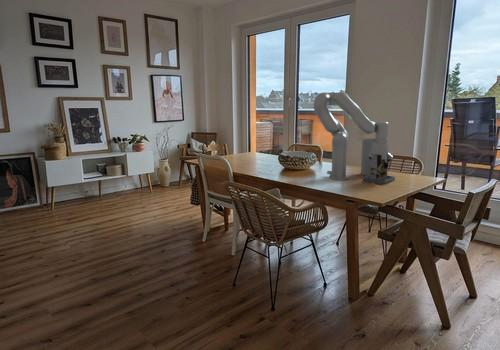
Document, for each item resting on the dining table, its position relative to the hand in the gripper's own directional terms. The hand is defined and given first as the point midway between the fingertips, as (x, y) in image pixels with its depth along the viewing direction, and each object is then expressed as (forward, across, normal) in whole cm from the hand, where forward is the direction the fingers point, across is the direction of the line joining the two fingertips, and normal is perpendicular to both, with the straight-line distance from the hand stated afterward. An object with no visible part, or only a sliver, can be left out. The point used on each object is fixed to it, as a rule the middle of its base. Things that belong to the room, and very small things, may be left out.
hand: (379, 167), depth 226 cm
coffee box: (+8, 0, 0) cm, 8 cm away
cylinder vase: (+9, -13, +14) cm, 21 cm away
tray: (+9, 0, 0) cm, 9 cm away
